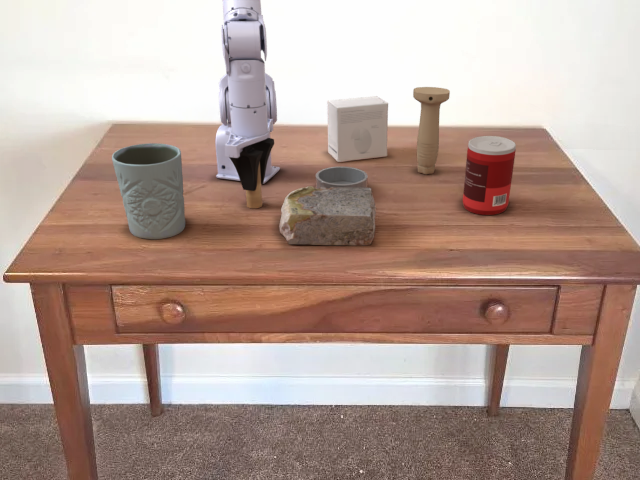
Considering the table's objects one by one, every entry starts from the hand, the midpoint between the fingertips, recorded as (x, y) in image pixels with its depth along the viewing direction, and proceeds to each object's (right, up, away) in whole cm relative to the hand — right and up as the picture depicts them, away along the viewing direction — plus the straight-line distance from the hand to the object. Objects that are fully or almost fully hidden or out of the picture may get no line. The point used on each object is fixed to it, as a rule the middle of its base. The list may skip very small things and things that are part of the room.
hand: (253, 186), depth 123 cm
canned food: (+39, -3, +3) cm, 39 cm away
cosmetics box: (+17, +11, +24) cm, 32 cm away
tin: (+14, +1, +8) cm, 16 cm away
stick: (0, -3, +2) cm, 3 cm away
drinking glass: (-14, -8, -6) cm, 17 cm away
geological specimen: (+13, -9, -6) cm, 16 cm away
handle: (+30, +6, +17) cm, 35 cm away
